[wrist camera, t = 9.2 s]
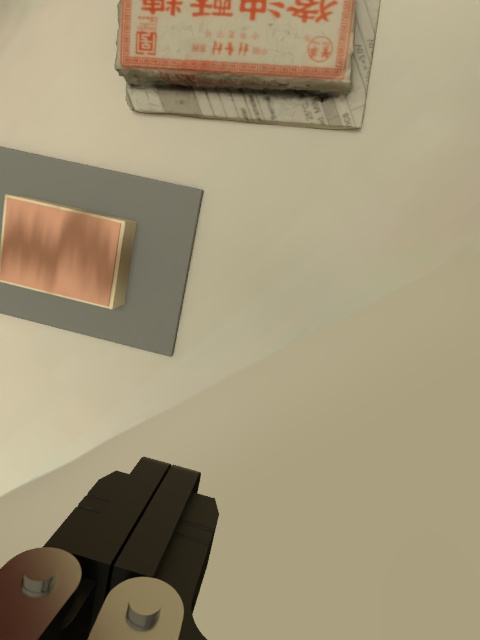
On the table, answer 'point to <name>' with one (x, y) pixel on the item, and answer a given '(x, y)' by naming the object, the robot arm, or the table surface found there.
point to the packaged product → (249, 59)
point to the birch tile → (66, 251)
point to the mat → (147, 256)
